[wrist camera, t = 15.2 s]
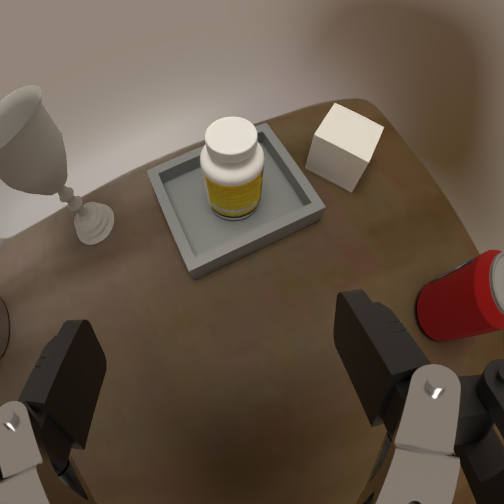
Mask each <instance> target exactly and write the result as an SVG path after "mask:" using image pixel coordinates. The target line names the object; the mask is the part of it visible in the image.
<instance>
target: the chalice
mask: <svg viewBox="0 0 504 504" xmlns="http://www.w3.org/2000/svg"><path fill="white" fill-rule="evenodd" d="M0 179H1V180H2V181H3V182H4V183H6V184H7V185H8V186H9V187H11V188H13V189H16V190H20V191H23V192H26V193H31V194H41V195H53V194H55V193H57V192H58V194H59V196H60V200H61V201H62V202H67V203H68V209H69V211H71V212H74V211H76V215H75V218H74V225H75V228H76V232H77V236H78V238H79V239H80V241H81V242H83V243H85V244H89V245H93V244H97V243H99V242H101V241H103V240H104V239H105V238H106V237H107V236H108V235H109V233H110V232H111V230H112V228H113V225H114V214H113V211H112V209H111V208H110V207H109V206H107V205H105V204H100V203H96V202H88V203H85V204H83V205H82V202H83V200H82V198H81V197H80V196H76V197H75V196H74V195H73V189H72V188H68V187H66V186H64V184H65V183H66V180H67V163H66V153H65V148H64V143H63V138H62V134H61V132H60V131H59V129H58V128H57V126H56V125H55V123H54V122H53V120H52V119H51V117H50V116H49V114H48V113H47V111H46V110H45V108H44V107H43V105H42V103H41V88H39V87H38V86H37V85H29V86H26V87H22V88H20V89H18V90H16V91H14V92H12V93H10V94H9V95H8V96H6V97H5V98H3V99H2V100H1V101H0Z"/></svg>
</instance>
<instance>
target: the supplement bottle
mask: <svg viewBox="0 0 504 504" xmlns="http://www.w3.org/2000/svg"><path fill="white" fill-rule="evenodd" d="M205 143H206V144H205V146H204V147H203V149H202V151H201V154H200V165H201V171H202V175H203V180H204V185H205V190H206V195H207V200H208V203H209V206H210V208H211V209H212V211H213V212H214V213H215V214H217V215H218V216H220V217H221V218H224V219H227V220H240V219H243V218H246V217H248V216H249V215H251V214H252V213H253V212H254V211H255V210H256V209H257V208H258V206H259V204H260V200H261V193H262V182H263V171H264V152H263V149H262V147H261V145H260V144H259V143H258V142H257V130H256V128H255V127H254V125H253V124H251V122H249V121H248V120H246V119H243V118H240V117H226V118H222V119H219V120H217V121H215V122H213V123H212V124H211V125H210V126H209V127H208V129H207V131H206V134H205Z"/></svg>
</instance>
